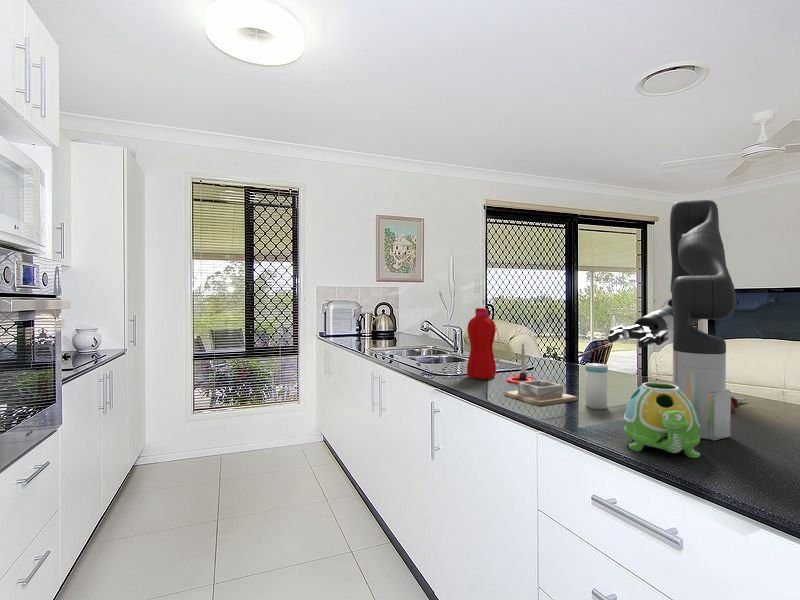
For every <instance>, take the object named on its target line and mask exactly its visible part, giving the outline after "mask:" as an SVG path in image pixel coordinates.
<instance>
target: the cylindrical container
mask: <svg viewBox="0 0 800 600" xmlns="http://www.w3.org/2000/svg"><path fill="white" fill-rule="evenodd" d="M608 372H609V368H608V365H607V364H604V363H595V362H592V363H589V362H588V363H585V407H586V408H590V409H595V410H604V409H605V410H606V409H608V377H609V376H608Z"/></svg>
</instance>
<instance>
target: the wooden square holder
mask: <svg viewBox="0 0 800 600" xmlns="http://www.w3.org/2000/svg"><path fill="white" fill-rule="evenodd" d="M525 381H526V380H525ZM563 388H564V387H563V384H558V383H555V382H550V381H547V380H542V379H538V380H533V381H526V382H518V384H517V389H516V390H508V391H504V393H503V394H504V396H506V397H509V398H513V399H516V400H519V401H523V402H525V403H528V404H529V403H530V404H533V405H536V406H538V407H542V406H549V405H554V404H561V403H562V404H563V403H567V402H576V401H578V396H575V395H571V394H567V393H564V392H563Z"/></svg>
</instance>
